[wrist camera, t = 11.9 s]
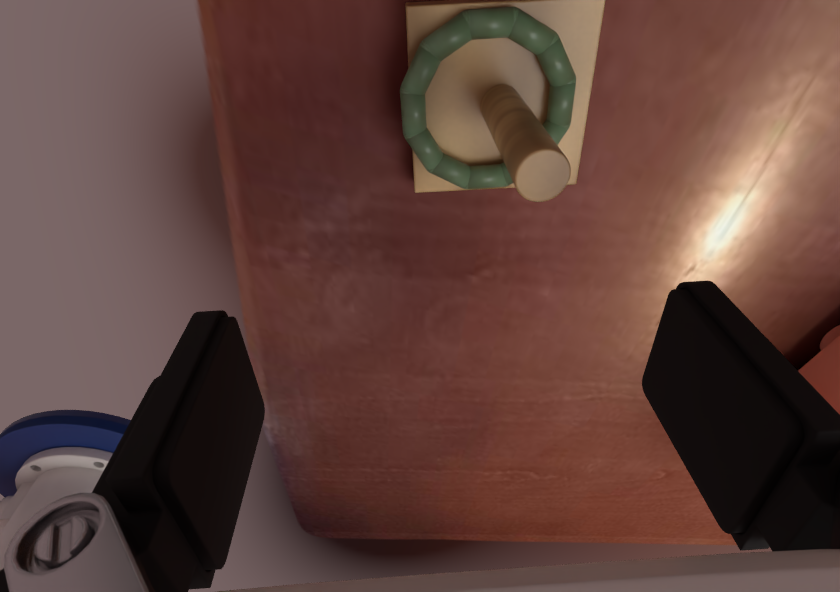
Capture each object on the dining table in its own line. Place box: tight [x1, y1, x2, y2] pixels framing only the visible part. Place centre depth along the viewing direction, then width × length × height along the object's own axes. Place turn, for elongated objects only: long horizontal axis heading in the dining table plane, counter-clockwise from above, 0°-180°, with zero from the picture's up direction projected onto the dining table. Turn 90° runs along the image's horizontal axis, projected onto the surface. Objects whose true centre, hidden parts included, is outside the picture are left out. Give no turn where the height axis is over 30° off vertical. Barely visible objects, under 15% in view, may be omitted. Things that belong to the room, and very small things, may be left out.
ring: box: [400, 7, 576, 189], centre depth 24 cm, size 8×8×1 cm
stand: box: [405, 0, 605, 202], centre depth 22 cm, size 9×9×10 cm
